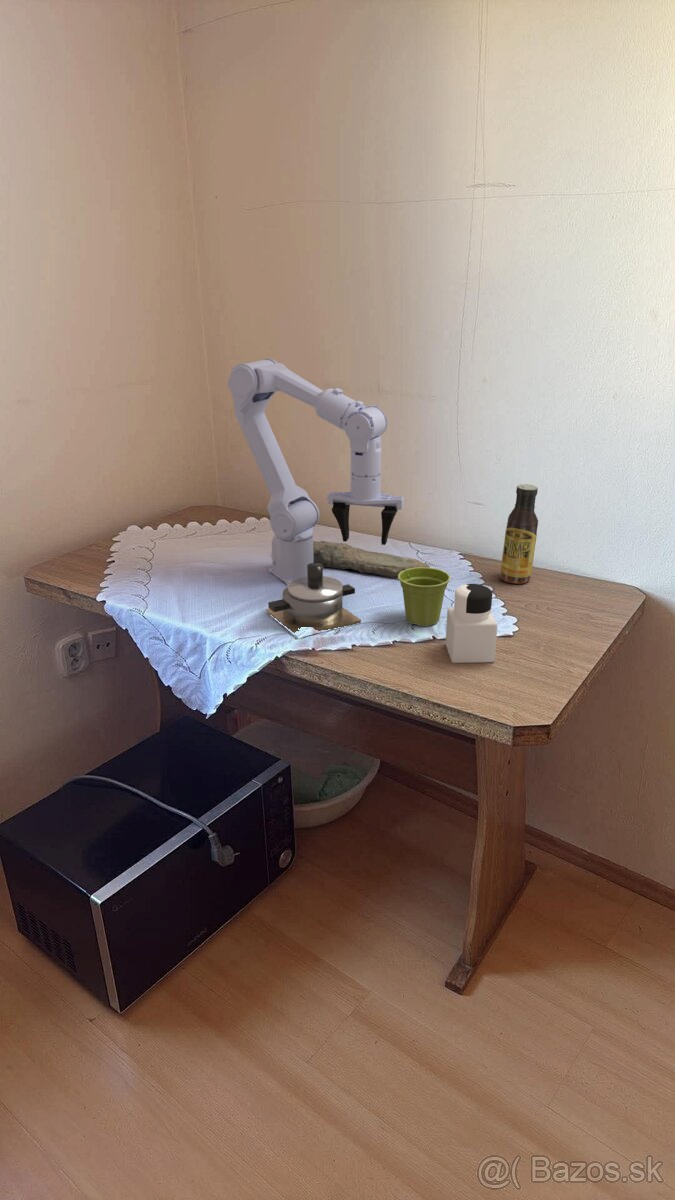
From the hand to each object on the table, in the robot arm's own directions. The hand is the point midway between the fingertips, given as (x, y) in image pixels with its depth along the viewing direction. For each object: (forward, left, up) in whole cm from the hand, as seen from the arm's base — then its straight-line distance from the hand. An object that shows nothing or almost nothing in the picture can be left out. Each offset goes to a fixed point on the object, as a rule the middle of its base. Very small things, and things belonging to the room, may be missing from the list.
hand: (364, 541), depth 156 cm
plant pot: (+17, +2, -11) cm, 20 cm away
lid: (+6, -14, -5) cm, 16 cm away
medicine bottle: (+32, +1, -11) cm, 34 cm away
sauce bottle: (+11, +30, -11) cm, 34 cm away
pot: (+6, -15, -10) cm, 19 cm away
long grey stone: (-13, +5, -11) cm, 18 cm away
